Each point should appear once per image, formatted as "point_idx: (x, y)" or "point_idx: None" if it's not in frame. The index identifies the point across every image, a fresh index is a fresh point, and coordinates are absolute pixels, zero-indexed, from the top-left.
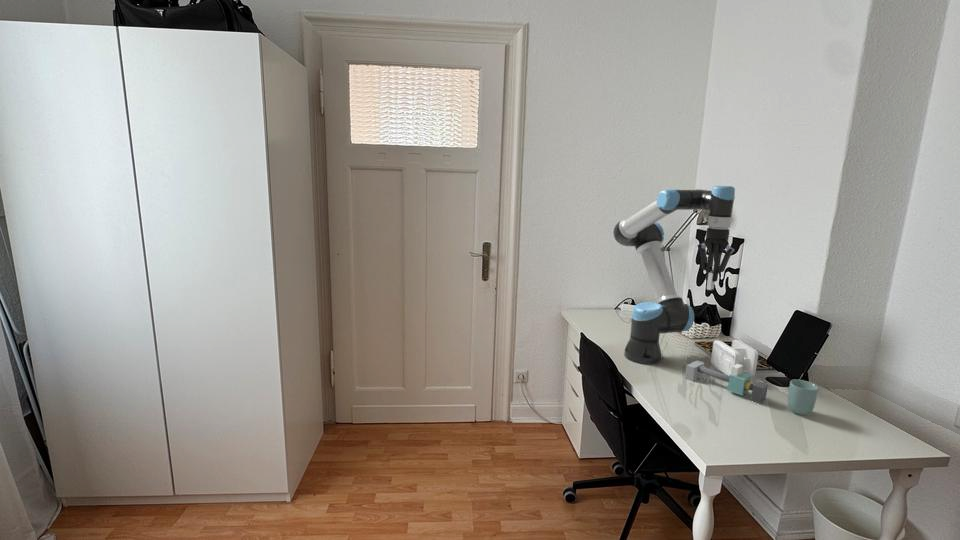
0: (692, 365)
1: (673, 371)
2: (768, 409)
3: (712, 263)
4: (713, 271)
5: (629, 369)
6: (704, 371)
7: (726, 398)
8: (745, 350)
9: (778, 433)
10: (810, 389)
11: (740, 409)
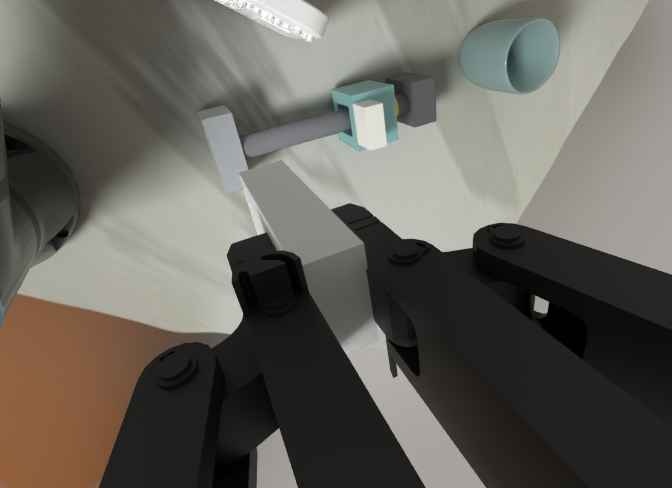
0: (234, 176)
1: (161, 176)
2: None
3: (379, 428)
4: (398, 353)
5: (104, 301)
6: (267, 152)
7: (354, 168)
8: None
9: (476, 193)
10: (532, 31)
11: (398, 183)
